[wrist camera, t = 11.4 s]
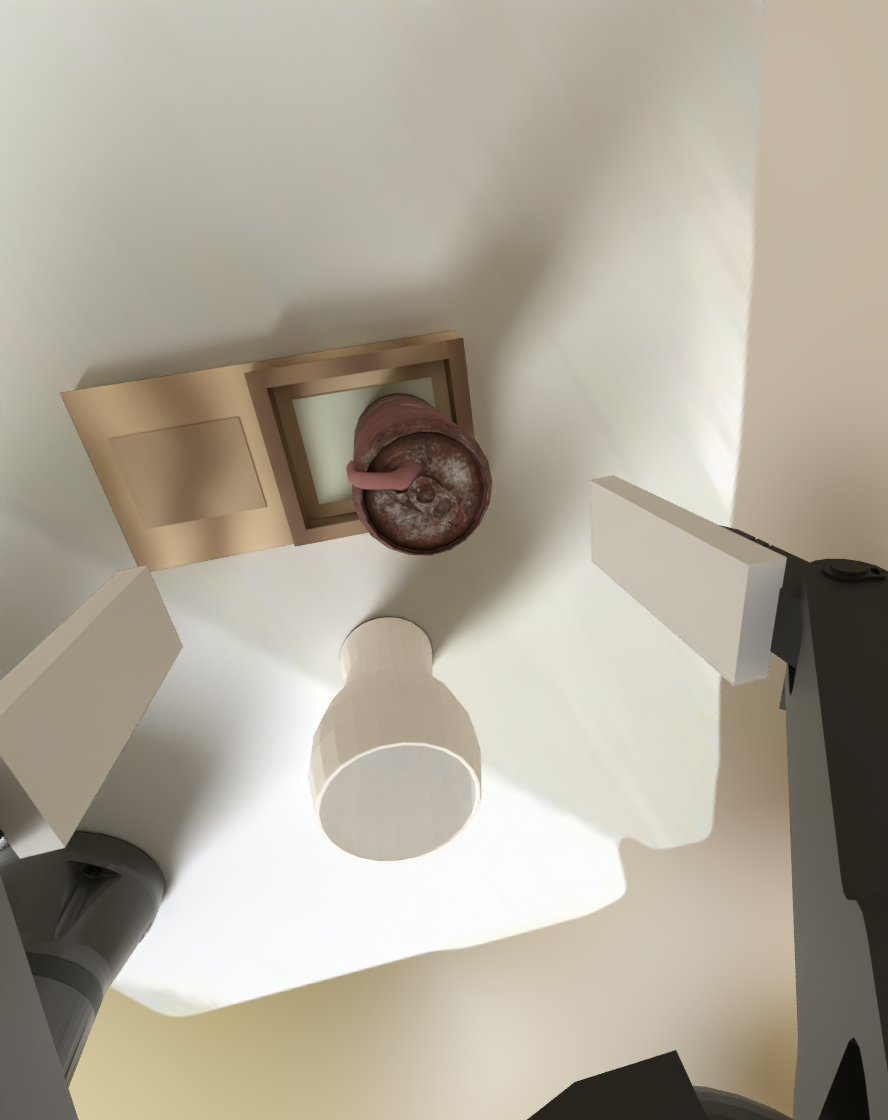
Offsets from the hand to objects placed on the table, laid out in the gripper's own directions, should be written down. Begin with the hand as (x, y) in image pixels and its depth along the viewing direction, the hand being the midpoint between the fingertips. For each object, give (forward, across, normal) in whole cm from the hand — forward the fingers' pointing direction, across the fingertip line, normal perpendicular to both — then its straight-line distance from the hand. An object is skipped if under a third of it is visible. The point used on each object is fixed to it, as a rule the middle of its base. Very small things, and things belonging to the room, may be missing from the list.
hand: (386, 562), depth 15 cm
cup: (+22, -2, -18) cm, 28 cm away
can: (+20, +2, 0) cm, 20 cm away
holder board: (+22, -5, 0) cm, 22 cm away
